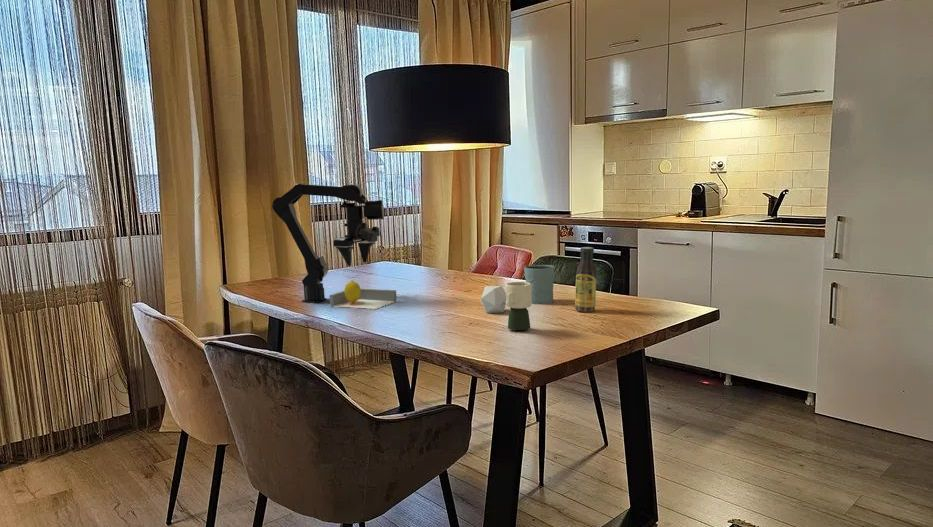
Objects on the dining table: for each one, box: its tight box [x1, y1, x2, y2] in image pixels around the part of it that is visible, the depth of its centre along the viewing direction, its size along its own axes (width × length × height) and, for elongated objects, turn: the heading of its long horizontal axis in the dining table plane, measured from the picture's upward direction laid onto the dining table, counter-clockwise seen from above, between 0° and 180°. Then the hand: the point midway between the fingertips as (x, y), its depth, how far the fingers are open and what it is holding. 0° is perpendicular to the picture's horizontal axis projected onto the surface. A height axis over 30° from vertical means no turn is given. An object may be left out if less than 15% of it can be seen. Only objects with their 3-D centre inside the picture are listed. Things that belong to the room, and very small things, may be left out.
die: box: [480, 285, 507, 314], centre depth 195 cm, size 8×9×10 cm
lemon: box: [343, 280, 361, 303], centre depth 213 cm, size 6×6×8 cm
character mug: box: [504, 281, 533, 332], centre depth 171 cm, size 11×7×13 cm, turn 147°
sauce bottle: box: [574, 246, 597, 313], centre depth 192 cm, size 6×6×20 cm
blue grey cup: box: [523, 264, 555, 305], centre depth 209 cm, size 10×10×12 cm
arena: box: [329, 287, 398, 310], centre depth 214 cm, size 18×14×4 cm
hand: (357, 264), depth 221 cm, fingers open, 9 cm apart
